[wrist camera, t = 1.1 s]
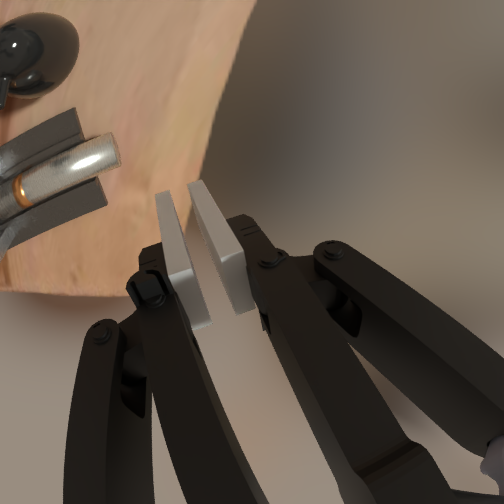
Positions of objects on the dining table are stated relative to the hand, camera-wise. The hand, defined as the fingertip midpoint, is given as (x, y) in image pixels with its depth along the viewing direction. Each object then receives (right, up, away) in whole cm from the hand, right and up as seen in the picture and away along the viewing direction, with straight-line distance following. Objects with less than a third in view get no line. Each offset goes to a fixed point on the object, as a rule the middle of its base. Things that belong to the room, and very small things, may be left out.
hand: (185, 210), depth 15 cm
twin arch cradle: (-29, +6, +15) cm, 33 cm away
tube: (-21, +8, +15) cm, 28 cm away
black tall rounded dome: (-21, +21, +8) cm, 31 cm away
